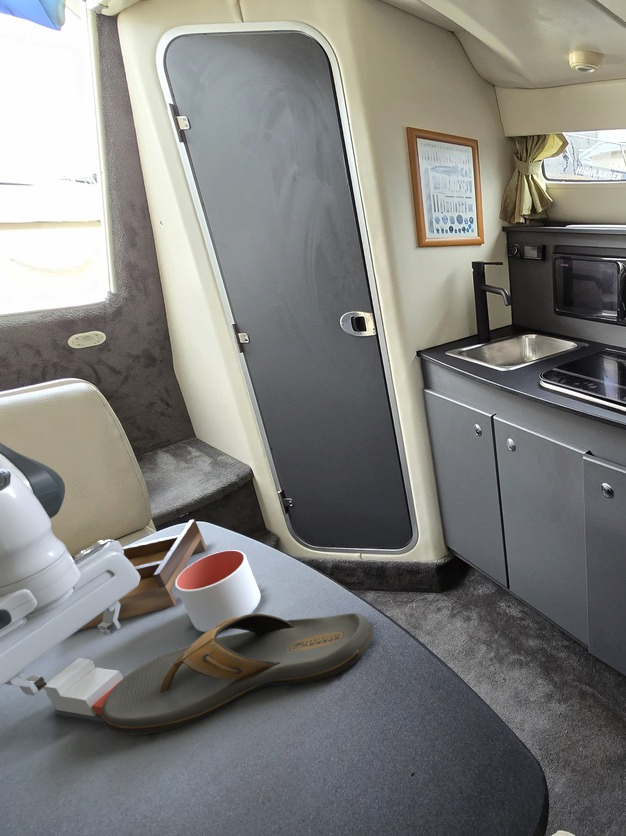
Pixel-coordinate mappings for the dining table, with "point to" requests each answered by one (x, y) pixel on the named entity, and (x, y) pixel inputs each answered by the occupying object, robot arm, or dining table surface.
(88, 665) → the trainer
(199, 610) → the cup
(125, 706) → the sandal
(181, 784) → the dining table surface
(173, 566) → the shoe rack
